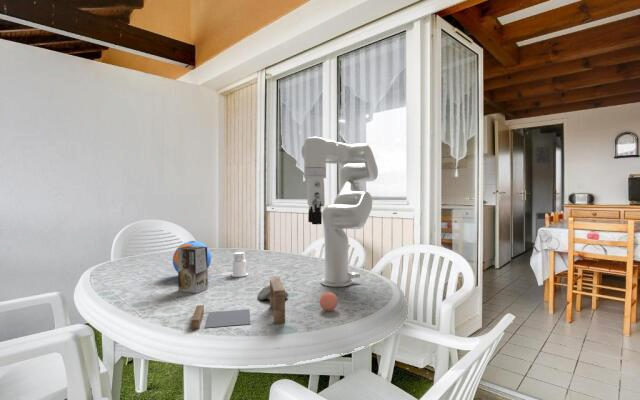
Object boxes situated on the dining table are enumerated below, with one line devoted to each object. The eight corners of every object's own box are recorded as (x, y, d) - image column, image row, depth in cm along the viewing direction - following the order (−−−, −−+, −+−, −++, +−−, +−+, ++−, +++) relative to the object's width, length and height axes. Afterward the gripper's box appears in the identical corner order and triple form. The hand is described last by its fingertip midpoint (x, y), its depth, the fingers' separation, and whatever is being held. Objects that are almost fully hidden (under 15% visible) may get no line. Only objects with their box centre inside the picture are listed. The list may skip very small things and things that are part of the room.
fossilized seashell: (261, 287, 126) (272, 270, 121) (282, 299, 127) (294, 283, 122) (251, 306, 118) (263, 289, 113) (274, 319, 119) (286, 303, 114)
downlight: (252, 274, 152) (251, 252, 152) (240, 278, 146) (239, 254, 146) (239, 273, 157) (238, 251, 157) (227, 276, 151) (226, 253, 151)
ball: (334, 306, 110) (334, 289, 110) (339, 312, 105) (339, 294, 105) (317, 308, 109) (317, 290, 109) (321, 314, 104) (321, 295, 103)
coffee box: (208, 289, 130) (208, 246, 130) (195, 293, 124) (195, 249, 124) (190, 286, 134) (190, 245, 134) (177, 290, 128) (176, 247, 128)
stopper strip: (203, 313, 104) (203, 305, 104) (199, 328, 93) (199, 319, 93) (196, 313, 104) (196, 305, 104) (191, 329, 92) (191, 320, 92)
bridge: (279, 306, 111) (279, 277, 111) (285, 323, 97) (285, 290, 96) (269, 306, 110) (269, 278, 110) (274, 324, 96) (274, 290, 96)
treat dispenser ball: (217, 273, 155) (217, 239, 154) (198, 282, 140) (197, 244, 139) (187, 271, 158) (186, 238, 158) (164, 280, 143) (164, 243, 143)
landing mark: (249, 309, 107) (249, 309, 107) (250, 324, 96) (250, 323, 96) (209, 312, 105) (209, 312, 105) (205, 328, 93) (205, 327, 93)
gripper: (330, 172, 111) (329, 225, 111) (321, 175, 128) (321, 221, 128) (307, 171, 110) (306, 225, 110) (301, 175, 127) (301, 221, 127)
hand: (314, 223), depth 119 cm, fingers open, 9 cm apart
